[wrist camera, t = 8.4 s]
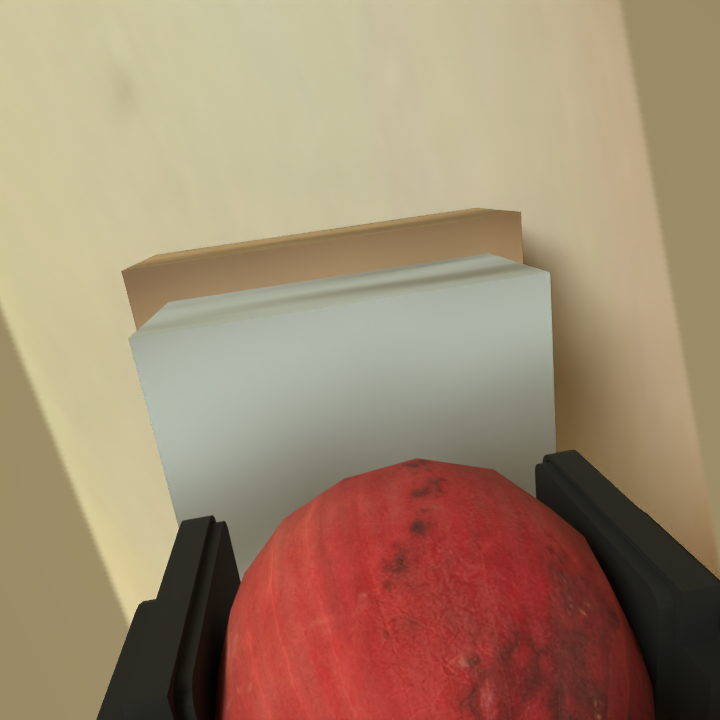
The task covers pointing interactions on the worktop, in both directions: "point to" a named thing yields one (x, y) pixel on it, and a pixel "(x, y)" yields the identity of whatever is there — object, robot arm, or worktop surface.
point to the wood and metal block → (341, 362)
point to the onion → (429, 610)
